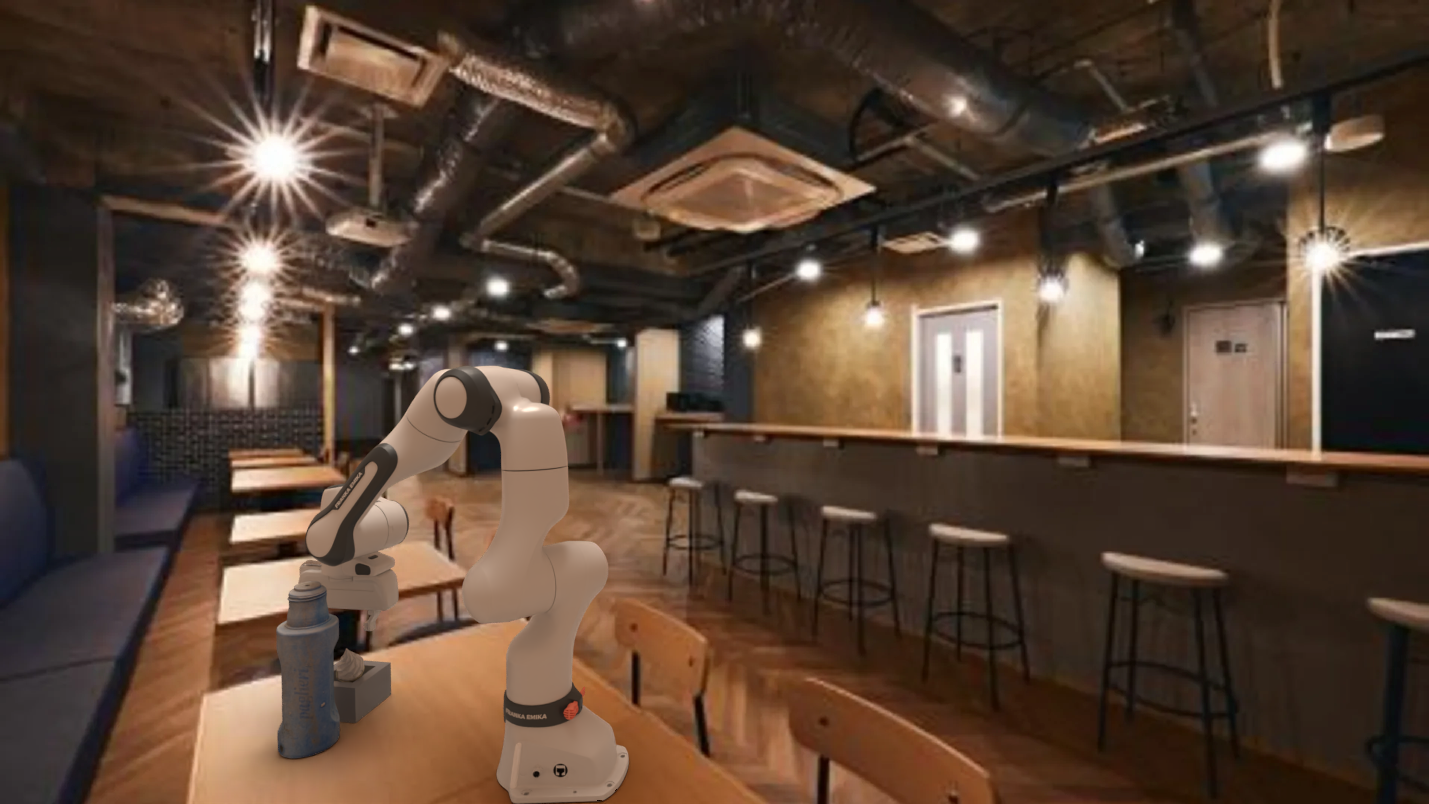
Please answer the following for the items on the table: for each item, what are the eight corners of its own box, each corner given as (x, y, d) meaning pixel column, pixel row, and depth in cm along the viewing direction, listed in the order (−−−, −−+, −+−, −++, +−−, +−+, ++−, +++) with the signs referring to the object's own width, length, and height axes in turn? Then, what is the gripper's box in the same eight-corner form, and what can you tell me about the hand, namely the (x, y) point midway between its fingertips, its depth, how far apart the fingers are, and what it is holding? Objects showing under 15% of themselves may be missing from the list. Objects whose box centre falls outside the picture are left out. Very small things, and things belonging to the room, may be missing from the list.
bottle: (284, 735, 120) (280, 579, 119) (344, 724, 124) (341, 573, 123) (271, 765, 112) (267, 596, 110) (336, 752, 115) (333, 589, 114)
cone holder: (391, 694, 136) (390, 662, 135) (355, 723, 125) (355, 688, 124) (343, 690, 137) (343, 658, 137) (304, 718, 126) (303, 683, 126)
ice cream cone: (374, 692, 134) (365, 646, 127) (352, 710, 130) (341, 664, 123) (358, 679, 136) (349, 633, 128) (336, 697, 132) (324, 650, 124)
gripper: (287, 564, 127) (289, 632, 128) (382, 568, 125) (384, 637, 125) (311, 555, 134) (313, 620, 134) (402, 558, 131) (403, 625, 132)
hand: (348, 628), depth 130 cm, fingers open, 8 cm apart
